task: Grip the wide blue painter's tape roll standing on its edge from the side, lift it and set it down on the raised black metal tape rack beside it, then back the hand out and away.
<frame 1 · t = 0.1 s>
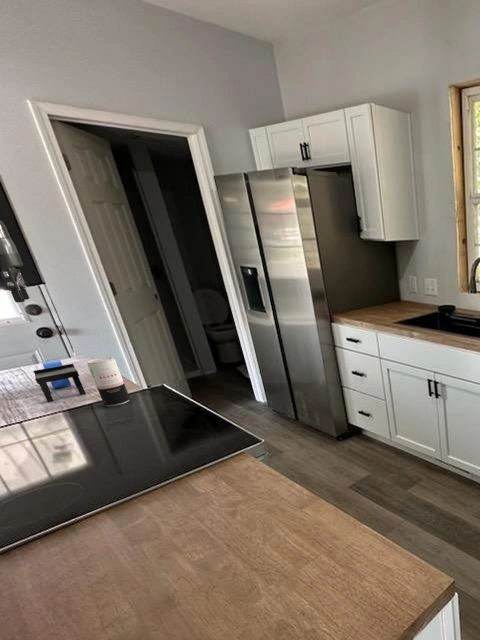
hand: (22, 300, 145), 32 cm above the worktop, tool pointing down, fingers open, 8 cm apart
beverage can: (118, 403, 137), on the worktop
tape rack: (65, 393, 147), on the worktop
tape roll: (62, 386, 154), on the worktop
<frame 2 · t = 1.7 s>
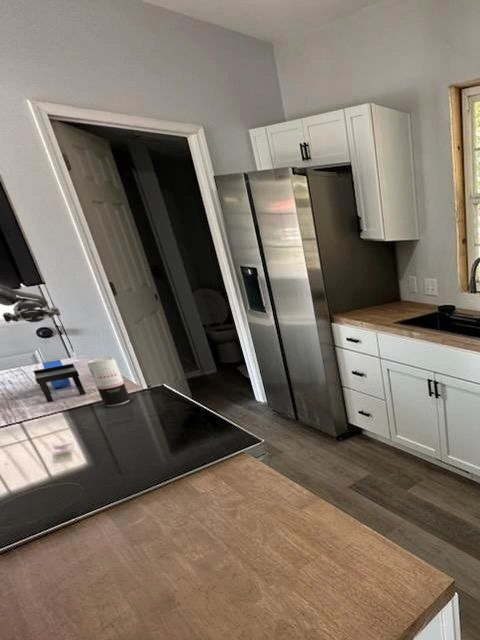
hand: (33, 316, 152), 25 cm above the worktop, tool horizontal, fingers open, 8 cm apart
nothing on the worktop moved.
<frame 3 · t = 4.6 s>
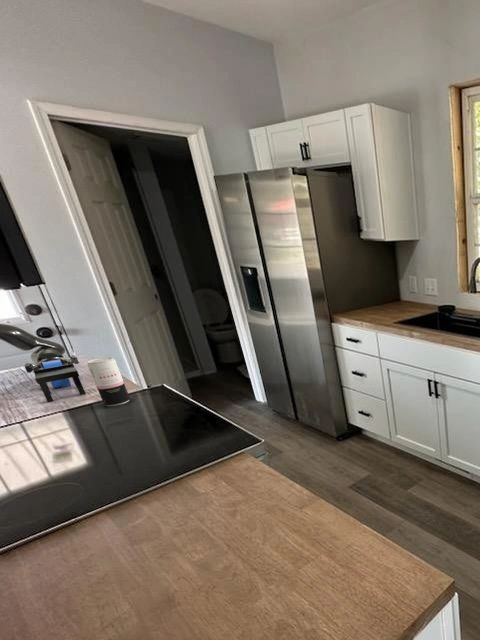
hand: (53, 367, 158), 6 cm above the worktop, tool horizontal, fingers open, 8 cm apart
tape roll: (62, 386, 154), on the worktop, tilted 6°
everything else where it was.
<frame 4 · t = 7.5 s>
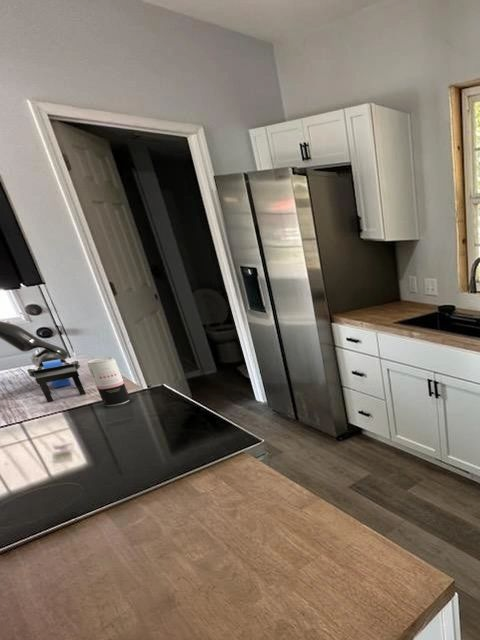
hand: (56, 373, 151), 6 cm above the worktop, tool horizontal, fingers closed on tape roll, 4 cm apart
tape roll: (62, 386, 154), on the worktop, tilted 14°, touching gripper
everything else where it was.
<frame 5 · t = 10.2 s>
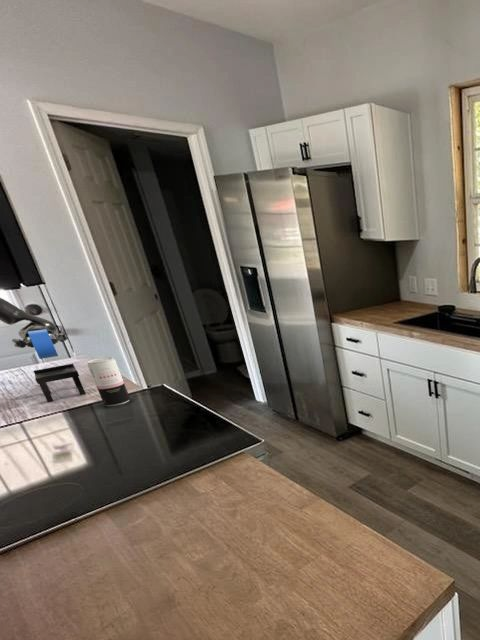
hand: (42, 342, 145), 18 cm above the worktop, tool horizontal, fingers closed on tape roll, 4 cm apart
tape roll: (49, 357, 148), point 12 cm above the worktop, tilted 14°, touching gripper
everything else where it was.
when the fingers open (14 cm above the worktop, at t = 13.3 s): tape roll stays where it is, resting on tape rack.
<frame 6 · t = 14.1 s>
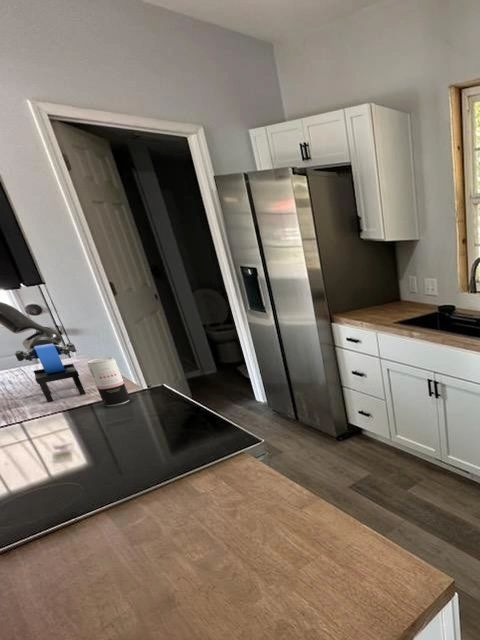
hand: (47, 354, 141), 15 cm above the worktop, tool horizontal, fingers open, 8 cm apart
tape roll: (56, 372, 144), point 8 cm above the worktop, tilted 11°, touching tape rack
everything else where it was.
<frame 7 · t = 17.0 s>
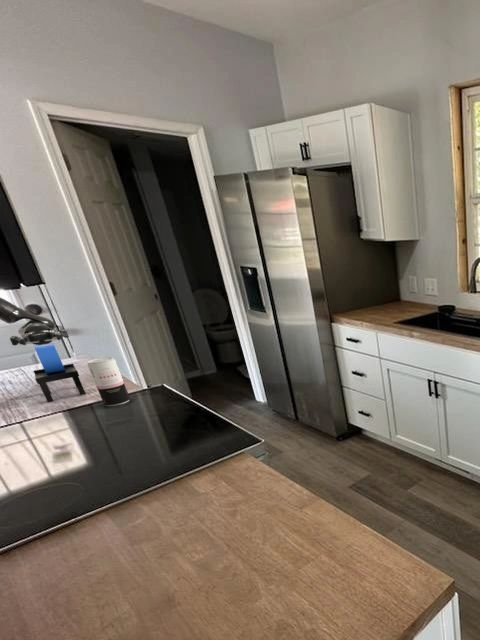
hand: (41, 339, 147), 18 cm above the worktop, tool horizontal, fingers open, 8 cm apart
tape roll: (55, 372, 144), point 8 cm above the worktop, tilted 17°, touching tape rack
everything else where it was.
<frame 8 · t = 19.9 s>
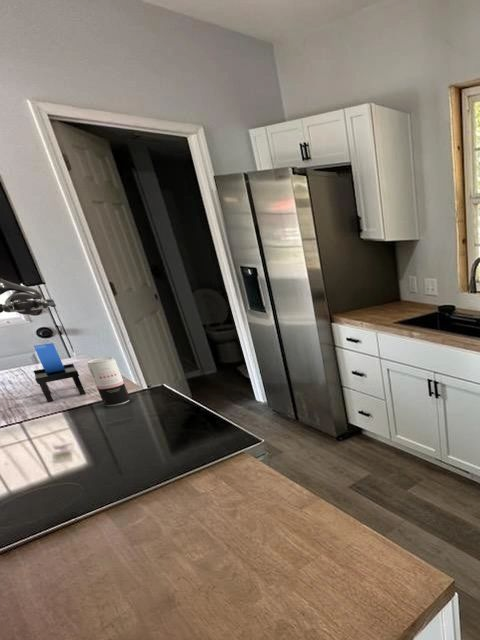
hand: (26, 307, 143), 30 cm above the worktop, tool horizontal, fingers open, 8 cm apart
nothing on the worktop moved.
at the end: tape roll inside the target area on the tape rack (0.1 cm from its centre), point 8.3 cm above the tape rack's base; tape roll touching tape rack; tape roll tilted 19° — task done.
